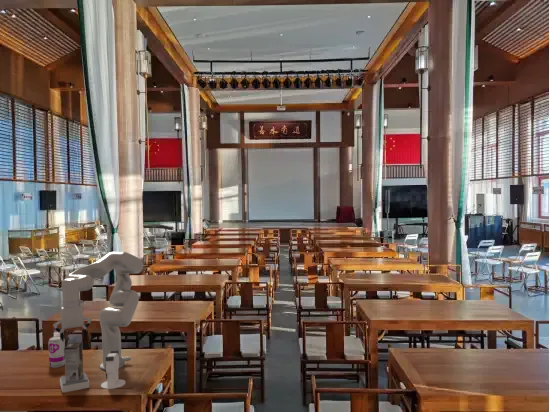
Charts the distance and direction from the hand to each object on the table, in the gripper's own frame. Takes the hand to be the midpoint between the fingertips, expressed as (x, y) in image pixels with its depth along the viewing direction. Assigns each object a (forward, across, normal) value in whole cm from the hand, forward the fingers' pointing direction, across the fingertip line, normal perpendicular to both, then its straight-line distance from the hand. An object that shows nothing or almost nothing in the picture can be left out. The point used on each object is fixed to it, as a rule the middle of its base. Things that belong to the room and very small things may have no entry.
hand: (73, 338), depth 244 cm
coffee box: (+19, +1, +1) cm, 19 cm away
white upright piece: (+23, -16, +8) cm, 30 cm away
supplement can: (+24, +6, -37) cm, 44 cm away
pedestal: (+23, +1, +1) cm, 23 cm away
